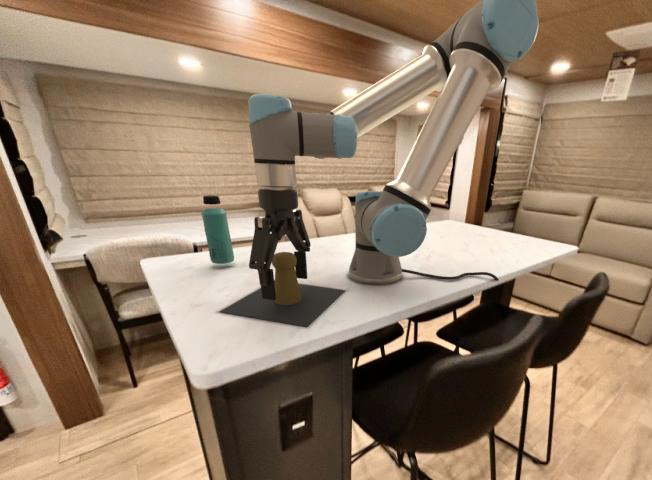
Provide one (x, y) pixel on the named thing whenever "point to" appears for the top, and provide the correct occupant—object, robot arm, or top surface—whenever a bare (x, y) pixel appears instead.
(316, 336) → the top surface
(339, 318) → the top surface
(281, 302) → the cork
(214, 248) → the beverage bottle
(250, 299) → the felt mat
